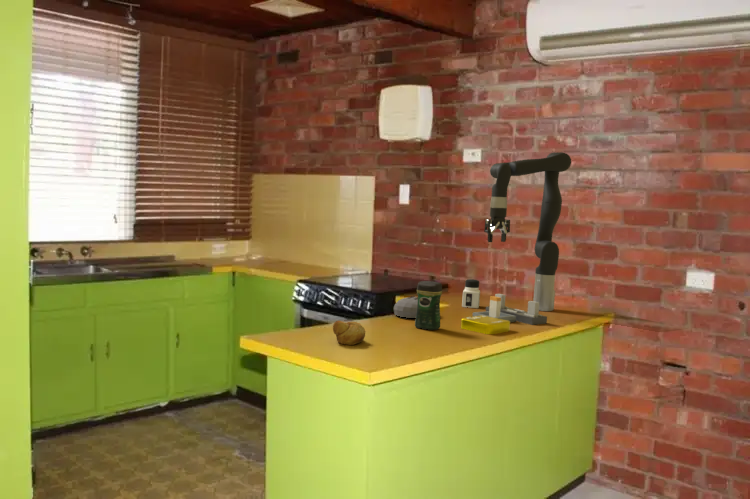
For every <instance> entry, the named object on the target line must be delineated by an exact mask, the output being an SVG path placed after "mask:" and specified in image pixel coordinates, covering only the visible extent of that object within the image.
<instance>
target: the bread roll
mask: <svg viewBox="0 0 750 499" xmlns="http://www.w3.org/2000/svg"><path fill="white" fill-rule="evenodd" d="M332 331H333V333H334V335H335V336H336V337H335V338H336V342H338V343H339V344H341V345H350V346H351V345H352V346H353V345H356V344H360V343H361V342H363V341H364V340H365V337H366V330H365V326H363V325H362V324H361V323H360V322H357V321H347V322H346V321H345V322H344V321H341V320H336V321H335V322H333V325H332Z"/></svg>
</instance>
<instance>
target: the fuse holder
mask: <svg viewBox="0 0 750 499" xmlns="http://www.w3.org/2000/svg"><path fill="white" fill-rule="evenodd" d="M489 308H490V305H489V306H488V305H487V306H486V307H485V311H489ZM500 312H501V313H506V314H510V315H514V316H516V322H519V323H523V324H528V325H533V326H534V325H535V326H536V325H543V324H544V325H545V324H546V325H547V322H548V316H546V315H542V314H540V313H539V314H538V317H534V315H530V314H527V312H528V311H525V310H521V309H518V308H512V307H509V306H506V305H505V309H501V307H500Z"/></svg>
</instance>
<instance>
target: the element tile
mask: <svg viewBox="0 0 750 499" xmlns="http://www.w3.org/2000/svg"><path fill="white" fill-rule="evenodd" d="M472 316H473V315H472ZM472 316H467V317H462V318H461V320H460V321H461V322H460V329H462V330H466V331H469V332H474V333H479V334H484V335H498V334H502V333H508V332H510V331H511V330H510V329H511V328H510V326H511V322H510V321H508V320H503V319H498V318H493V317H488V316H483V315H480V316H473V317H472Z"/></svg>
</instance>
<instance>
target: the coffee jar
mask: <svg viewBox="0 0 750 499" xmlns="http://www.w3.org/2000/svg"><path fill="white" fill-rule="evenodd" d="M416 287H417V288H416V294H417V297H418V305H417V313H416V319H414V326H415V328H417V329H420V328H422V329H421V330H426V329H428V331H431V330H432V331H433V330H434V331H436V330H439V329H440V328H441V310H440V309H441V306H440V305H441V302H440V301H441V296H442V294H443V285H442V283H441V282H437V281H432V280H431V281H430V280H422V281H421V280H420V281H418V283H417V286H416Z"/></svg>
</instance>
